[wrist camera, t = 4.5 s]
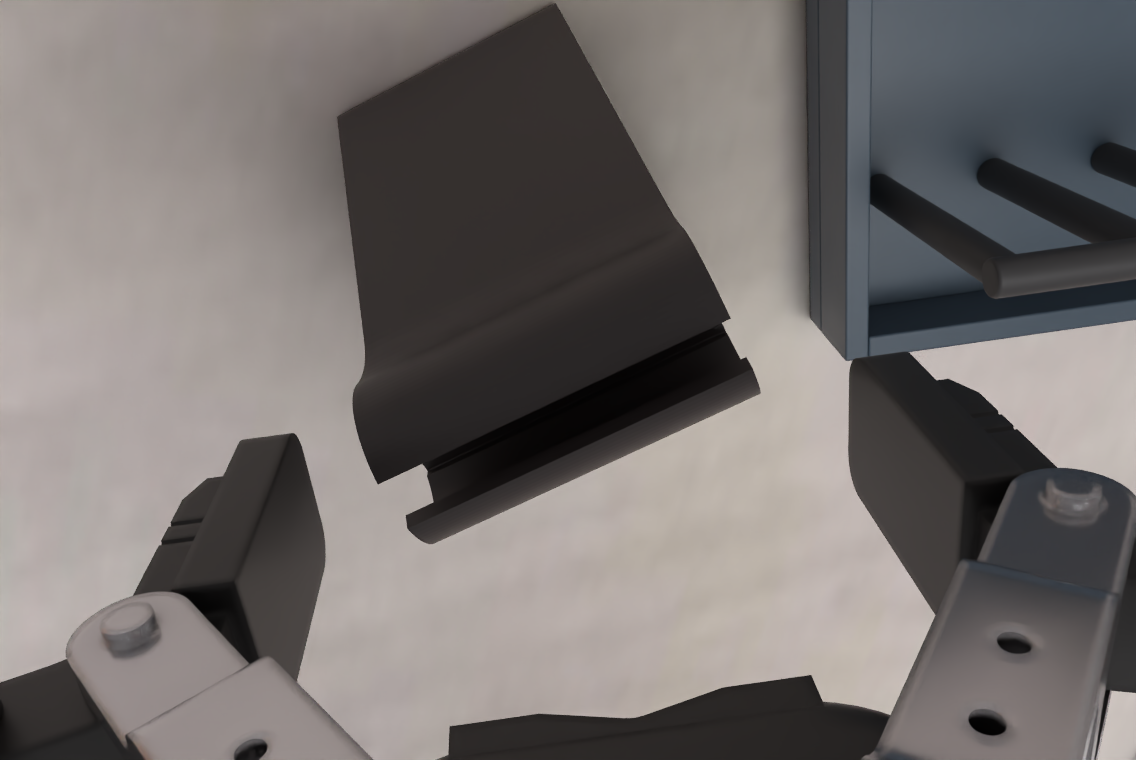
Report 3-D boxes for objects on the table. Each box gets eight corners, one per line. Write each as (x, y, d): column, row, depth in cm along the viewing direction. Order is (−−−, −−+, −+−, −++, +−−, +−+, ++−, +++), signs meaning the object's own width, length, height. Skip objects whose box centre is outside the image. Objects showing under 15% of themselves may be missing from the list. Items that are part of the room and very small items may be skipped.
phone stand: (695, 313, 28) (837, 564, 17) (502, 402, 28) (518, 701, 17) (556, 1, 24) (622, 61, 13) (338, 112, 24) (227, 259, 14)
